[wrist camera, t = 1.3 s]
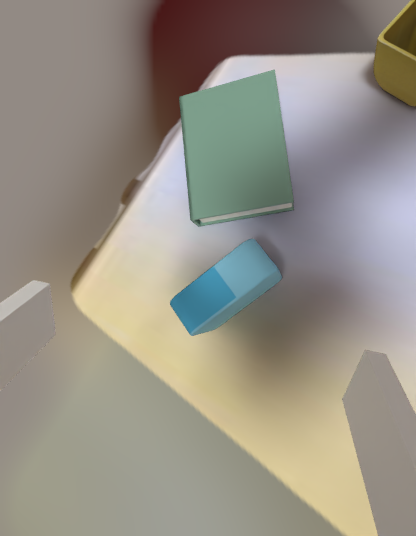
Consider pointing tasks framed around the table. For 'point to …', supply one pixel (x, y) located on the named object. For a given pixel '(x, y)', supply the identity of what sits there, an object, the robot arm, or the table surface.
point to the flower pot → (398, 56)
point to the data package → (226, 288)
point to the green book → (235, 151)
